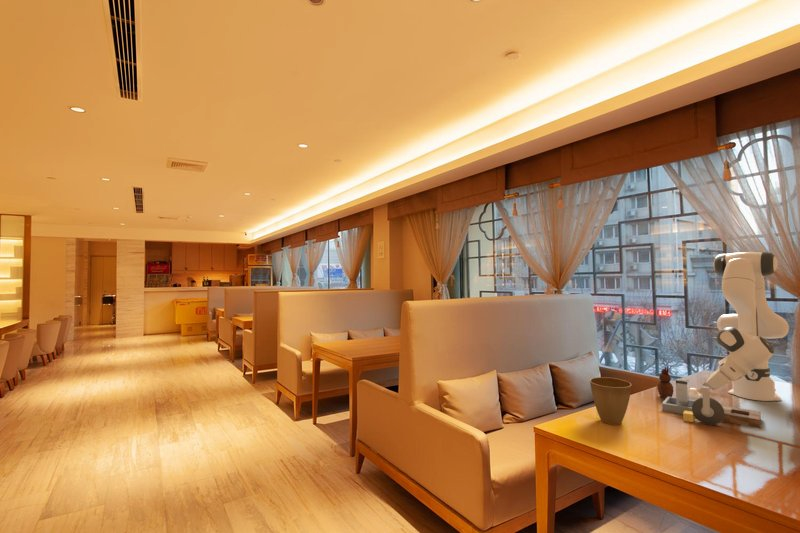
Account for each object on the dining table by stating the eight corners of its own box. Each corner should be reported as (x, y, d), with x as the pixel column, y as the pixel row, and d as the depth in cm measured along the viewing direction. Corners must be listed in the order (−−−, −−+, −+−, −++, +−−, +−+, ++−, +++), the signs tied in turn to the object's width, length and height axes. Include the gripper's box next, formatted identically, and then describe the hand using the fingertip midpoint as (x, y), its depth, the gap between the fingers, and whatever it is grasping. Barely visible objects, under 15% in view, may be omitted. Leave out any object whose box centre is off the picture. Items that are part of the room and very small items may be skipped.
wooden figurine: (675, 399, 189) (674, 367, 189) (662, 399, 190) (661, 367, 190) (669, 395, 195) (668, 364, 196) (655, 395, 196) (655, 364, 197)
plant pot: (582, 418, 166) (581, 379, 166) (608, 413, 172) (607, 375, 172) (614, 431, 152) (613, 388, 153) (641, 425, 158) (640, 383, 158)
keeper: (722, 412, 170) (722, 405, 170) (760, 419, 162) (760, 411, 162) (719, 420, 162) (719, 413, 162) (759, 427, 153) (759, 419, 153)
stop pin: (678, 406, 178) (677, 378, 178) (689, 408, 175) (688, 379, 175) (676, 408, 175) (675, 380, 175) (687, 410, 172) (686, 381, 172)
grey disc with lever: (685, 417, 165) (683, 380, 166) (725, 425, 156) (723, 386, 157) (682, 422, 160) (681, 384, 161) (723, 430, 152) (722, 389, 152)
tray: (668, 403, 184) (667, 396, 184) (703, 409, 175) (703, 402, 175) (662, 410, 174) (662, 403, 174) (699, 417, 166) (699, 409, 166)
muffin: (699, 406, 179) (699, 390, 180) (683, 403, 184) (682, 387, 184) (703, 403, 183) (702, 387, 184) (687, 400, 188) (686, 385, 188)
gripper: (726, 358, 173) (699, 377, 180) (721, 366, 158) (692, 387, 165) (740, 370, 170) (712, 389, 176) (736, 380, 155) (706, 400, 162)
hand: (702, 388), depth 170 cm, fingers open, 8 cm apart
